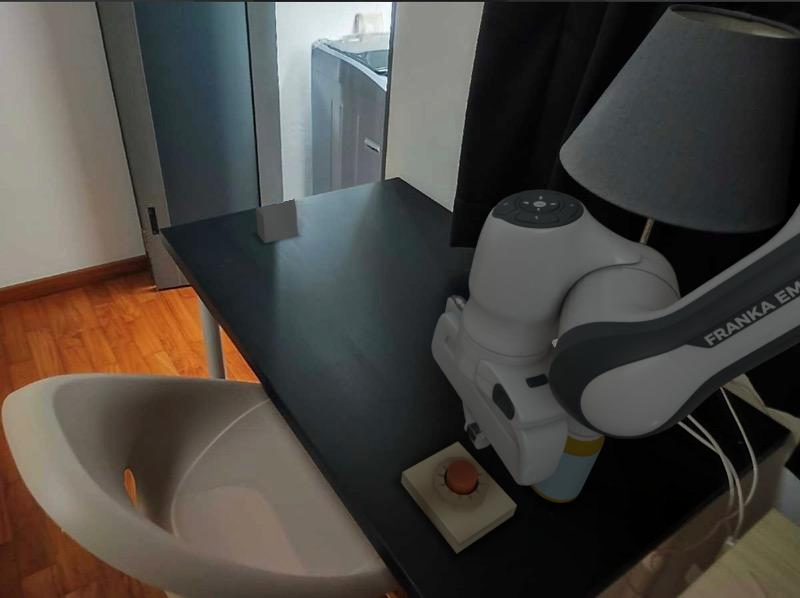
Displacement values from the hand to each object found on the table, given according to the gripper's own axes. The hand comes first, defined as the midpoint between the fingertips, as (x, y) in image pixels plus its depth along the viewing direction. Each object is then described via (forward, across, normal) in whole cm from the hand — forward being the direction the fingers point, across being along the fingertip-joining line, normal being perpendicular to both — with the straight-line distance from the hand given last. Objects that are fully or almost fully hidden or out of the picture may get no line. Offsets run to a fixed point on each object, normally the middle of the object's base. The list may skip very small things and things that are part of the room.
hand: (476, 438), depth 65 cm
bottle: (+11, +2, +12) cm, 17 cm away
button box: (+11, 0, -1) cm, 11 cm away
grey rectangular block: (+11, -65, -7) cm, 66 cm away
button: (+7, 0, -1) cm, 7 cm away
